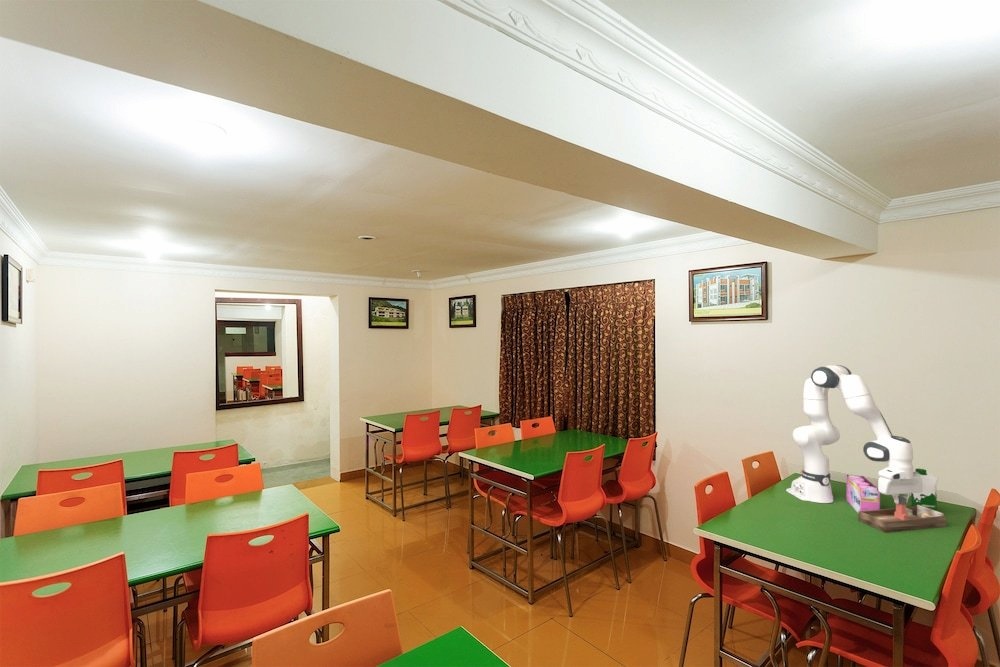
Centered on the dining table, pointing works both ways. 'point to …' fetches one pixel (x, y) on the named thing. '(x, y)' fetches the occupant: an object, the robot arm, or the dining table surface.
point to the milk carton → (926, 491)
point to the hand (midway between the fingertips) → (900, 502)
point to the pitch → (889, 523)
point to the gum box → (862, 494)
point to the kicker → (901, 509)
